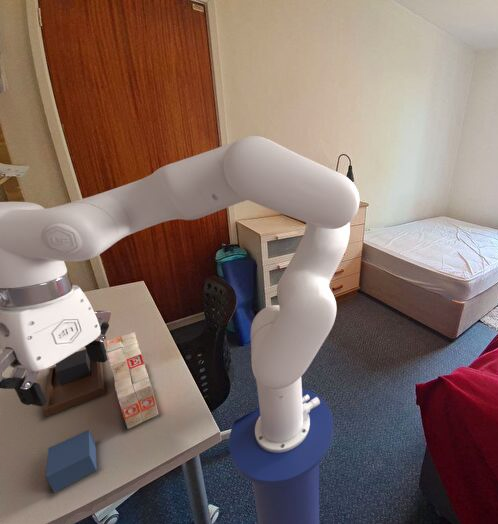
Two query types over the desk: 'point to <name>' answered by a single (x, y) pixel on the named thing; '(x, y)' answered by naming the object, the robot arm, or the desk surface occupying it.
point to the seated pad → (73, 367)
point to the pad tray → (73, 389)
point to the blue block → (71, 461)
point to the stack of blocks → (131, 380)
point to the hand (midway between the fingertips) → (70, 379)
